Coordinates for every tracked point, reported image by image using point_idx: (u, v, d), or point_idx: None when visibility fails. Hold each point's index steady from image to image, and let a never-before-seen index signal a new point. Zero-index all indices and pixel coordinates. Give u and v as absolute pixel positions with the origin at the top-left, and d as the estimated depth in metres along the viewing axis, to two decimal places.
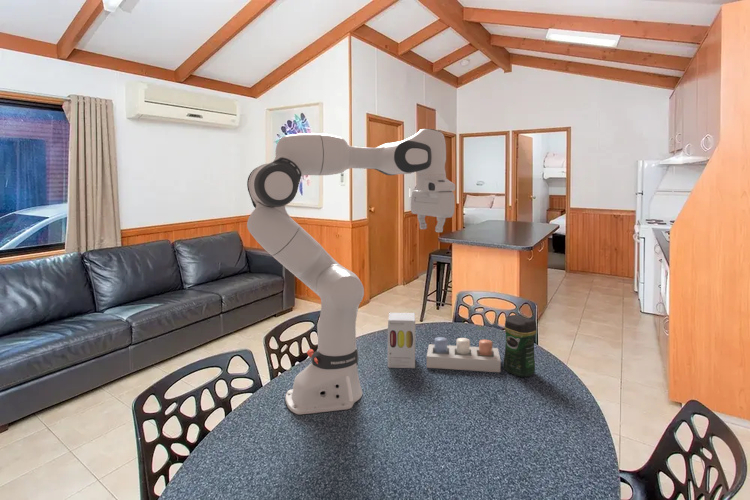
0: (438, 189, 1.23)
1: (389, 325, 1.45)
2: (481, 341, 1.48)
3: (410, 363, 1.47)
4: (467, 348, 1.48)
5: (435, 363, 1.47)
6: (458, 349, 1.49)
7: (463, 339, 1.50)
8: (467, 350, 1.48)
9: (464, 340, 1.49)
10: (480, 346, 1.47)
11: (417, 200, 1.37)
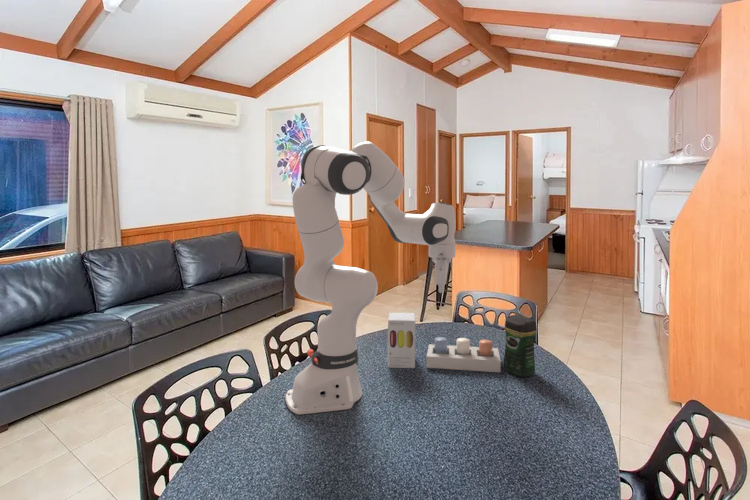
0: None
1: (389, 325, 1.45)
2: (481, 341, 1.48)
3: (410, 363, 1.47)
4: (467, 348, 1.48)
5: (435, 363, 1.47)
6: (458, 349, 1.49)
7: (463, 339, 1.50)
8: (467, 350, 1.48)
9: (464, 340, 1.49)
10: (480, 346, 1.47)
11: None
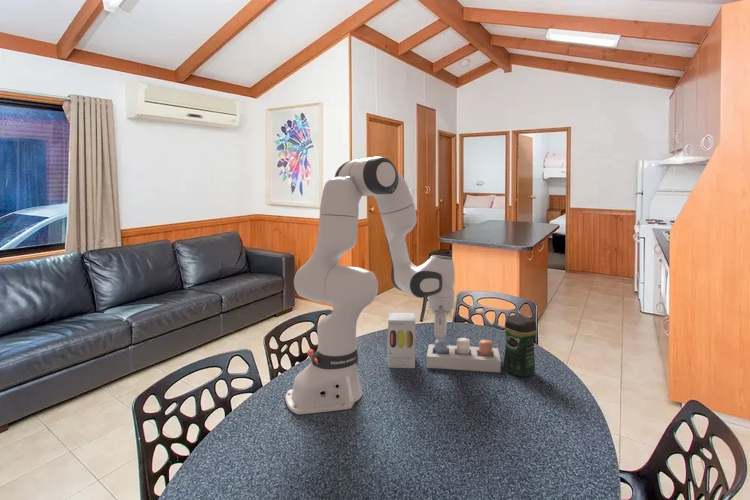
0: None
1: (389, 325, 1.45)
2: (481, 341, 1.48)
3: (410, 363, 1.47)
4: (467, 348, 1.48)
5: (435, 363, 1.47)
6: (458, 349, 1.49)
7: (463, 339, 1.50)
8: (467, 350, 1.48)
9: (464, 340, 1.49)
10: (480, 346, 1.47)
11: None
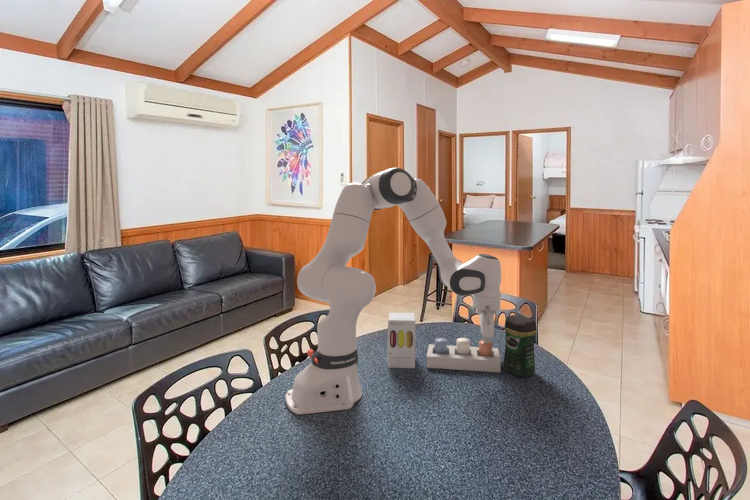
0: None
1: (389, 325, 1.45)
2: (481, 341, 1.48)
3: (410, 363, 1.47)
4: (467, 348, 1.48)
5: (435, 363, 1.47)
6: (458, 349, 1.49)
7: (463, 339, 1.50)
8: (467, 350, 1.48)
9: (464, 340, 1.49)
10: (480, 346, 1.47)
11: None
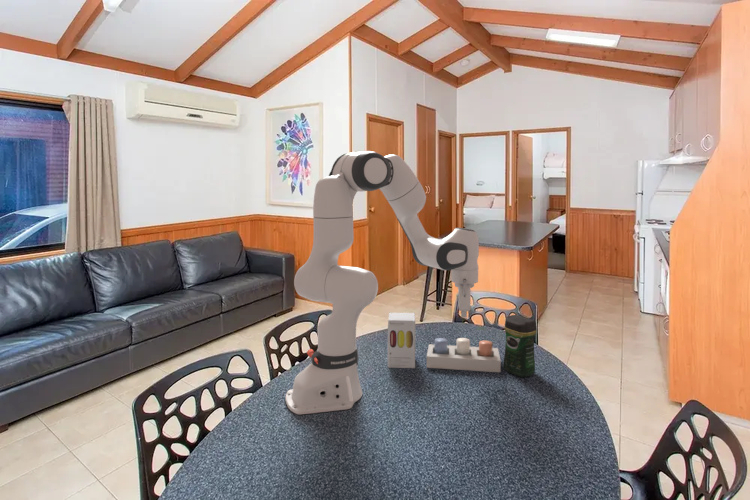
0: None
1: (389, 325, 1.45)
2: (481, 342, 1.48)
3: (410, 363, 1.47)
4: (467, 348, 1.48)
5: (435, 363, 1.47)
6: (458, 349, 1.49)
7: (463, 339, 1.50)
8: (467, 350, 1.48)
9: (464, 340, 1.49)
10: (480, 347, 1.47)
11: None
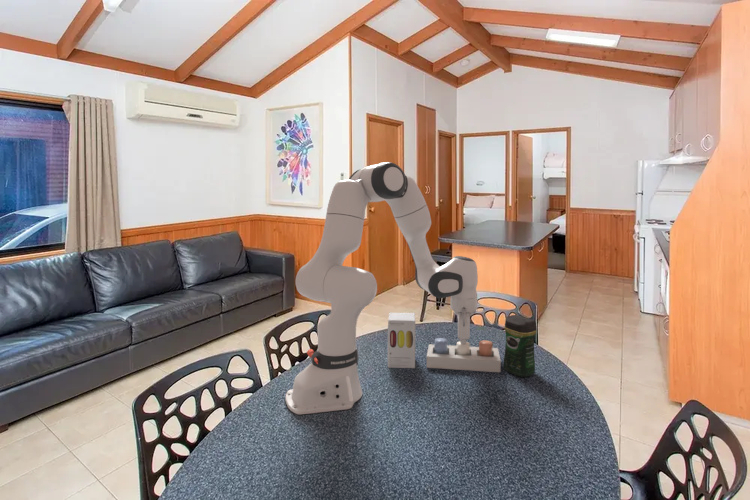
0: None
1: (389, 325, 1.45)
2: (481, 342, 1.48)
3: (410, 363, 1.47)
4: (467, 351, 1.48)
5: (435, 363, 1.47)
6: (458, 352, 1.49)
7: None
8: (467, 353, 1.48)
9: None
10: (480, 347, 1.47)
11: None
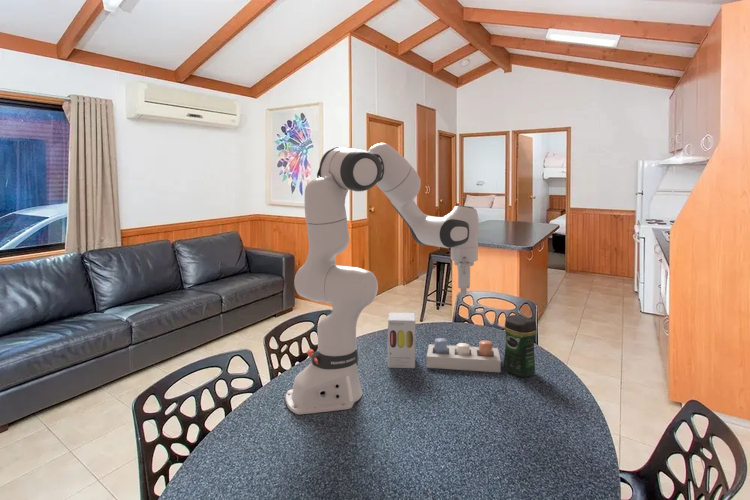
0: None
1: (389, 325, 1.45)
2: (481, 342, 1.48)
3: (410, 363, 1.47)
4: (467, 353, 1.48)
5: (435, 363, 1.47)
6: (458, 354, 1.49)
7: (463, 344, 1.50)
8: (467, 355, 1.48)
9: (464, 345, 1.49)
10: (480, 347, 1.47)
11: None
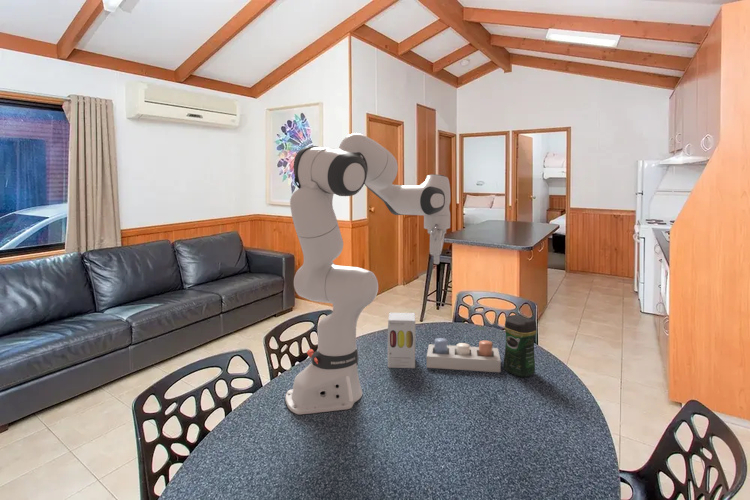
0: None
1: (389, 325, 1.45)
2: (481, 342, 1.48)
3: (410, 363, 1.47)
4: (467, 353, 1.48)
5: (435, 363, 1.47)
6: (458, 354, 1.49)
7: (463, 344, 1.50)
8: (467, 355, 1.48)
9: (464, 345, 1.49)
10: (480, 347, 1.47)
11: (440, 239, 1.43)
